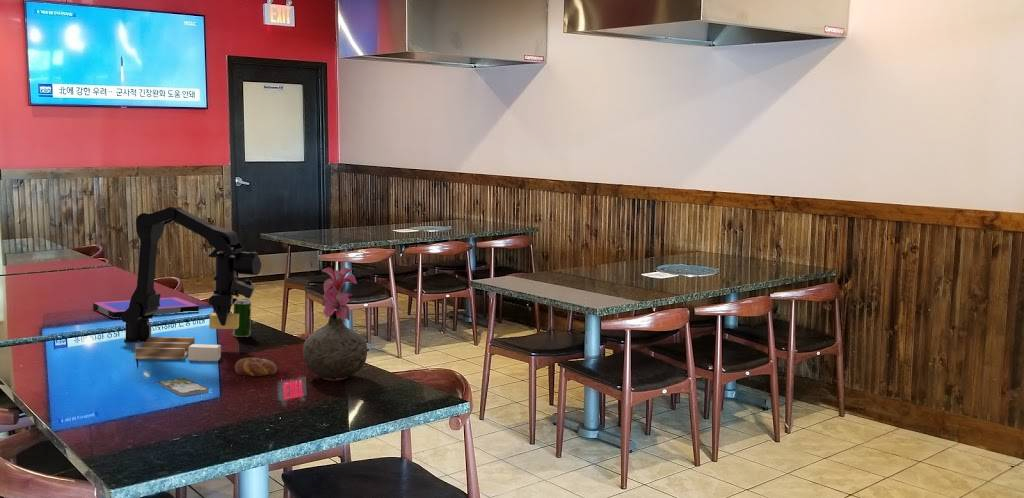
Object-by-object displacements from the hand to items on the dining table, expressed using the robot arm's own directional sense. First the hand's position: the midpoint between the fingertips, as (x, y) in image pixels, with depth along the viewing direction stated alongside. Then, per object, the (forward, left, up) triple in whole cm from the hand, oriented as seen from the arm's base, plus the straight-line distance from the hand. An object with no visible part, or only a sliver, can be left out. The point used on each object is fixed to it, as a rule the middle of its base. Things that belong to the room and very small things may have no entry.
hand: (224, 324), depth 265 cm
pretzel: (+13, -28, -8) cm, 32 cm away
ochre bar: (0, 0, -1) cm, 1 cm away
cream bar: (-3, -14, -8) cm, 16 cm away
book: (-36, +60, -8) cm, 71 cm away
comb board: (-15, -7, -8) cm, 18 cm away
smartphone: (-3, -45, -8) cm, 46 cm away
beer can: (+3, +18, -8) cm, 20 cm away
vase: (+34, -34, -8) cm, 48 cm away
